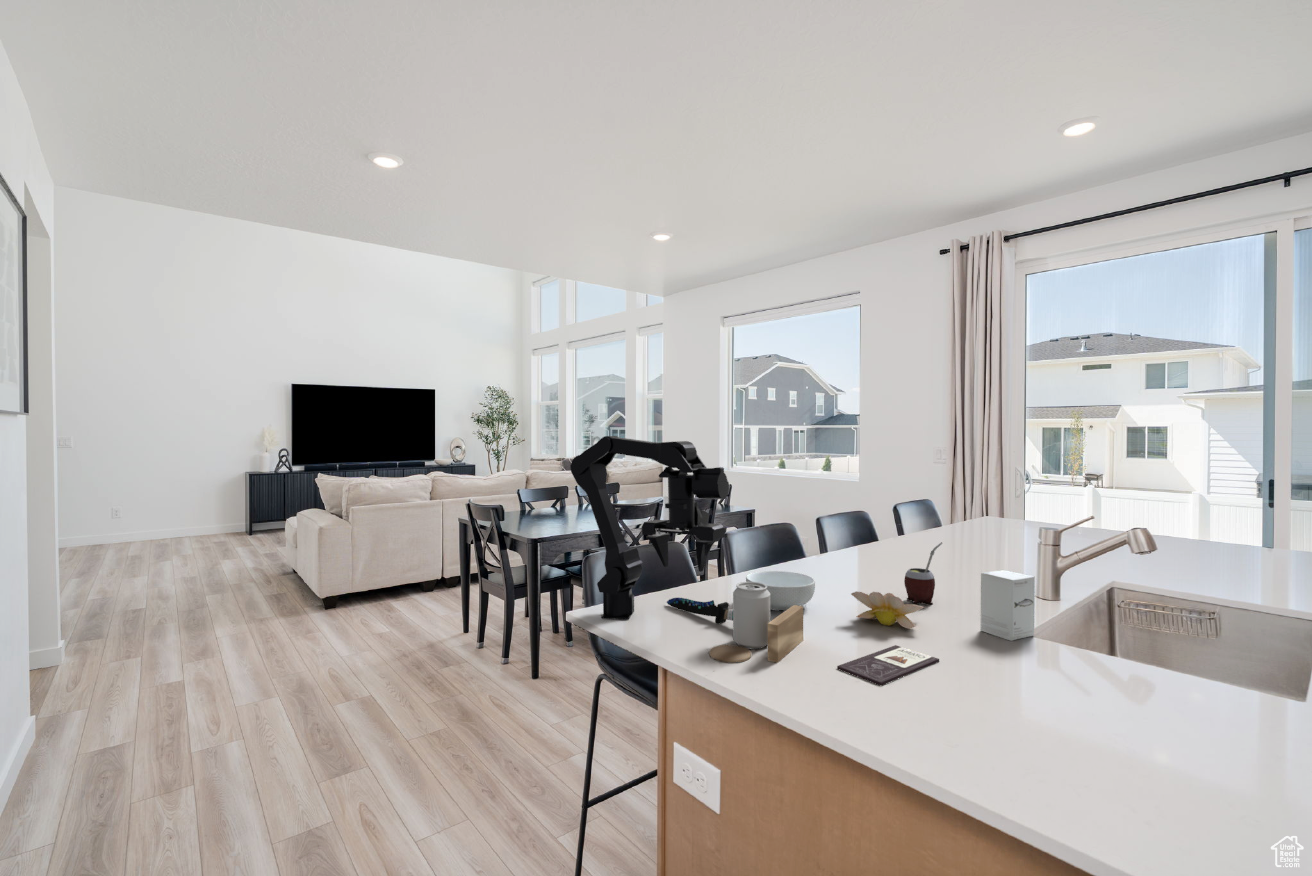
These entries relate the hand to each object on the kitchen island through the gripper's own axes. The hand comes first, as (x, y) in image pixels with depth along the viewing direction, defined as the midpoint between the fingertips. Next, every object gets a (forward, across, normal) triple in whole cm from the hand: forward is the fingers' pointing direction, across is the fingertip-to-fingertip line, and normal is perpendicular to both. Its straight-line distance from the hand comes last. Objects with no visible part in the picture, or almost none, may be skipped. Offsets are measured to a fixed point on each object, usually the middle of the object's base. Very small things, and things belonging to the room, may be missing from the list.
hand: (683, 568), depth 132 cm
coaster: (+13, -16, +8) cm, 22 cm away
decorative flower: (+14, -36, -28) cm, 48 cm away
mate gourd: (+14, -38, -50) cm, 64 cm away
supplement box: (+14, -58, -35) cm, 70 cm away
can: (+13, -17, +1) cm, 21 cm away
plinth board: (+13, -24, 0) cm, 27 cm away
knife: (+13, -2, -8) cm, 16 cm away
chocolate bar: (+14, -42, -4) cm, 45 cm away
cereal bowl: (+14, -11, -27) cm, 32 cm away
